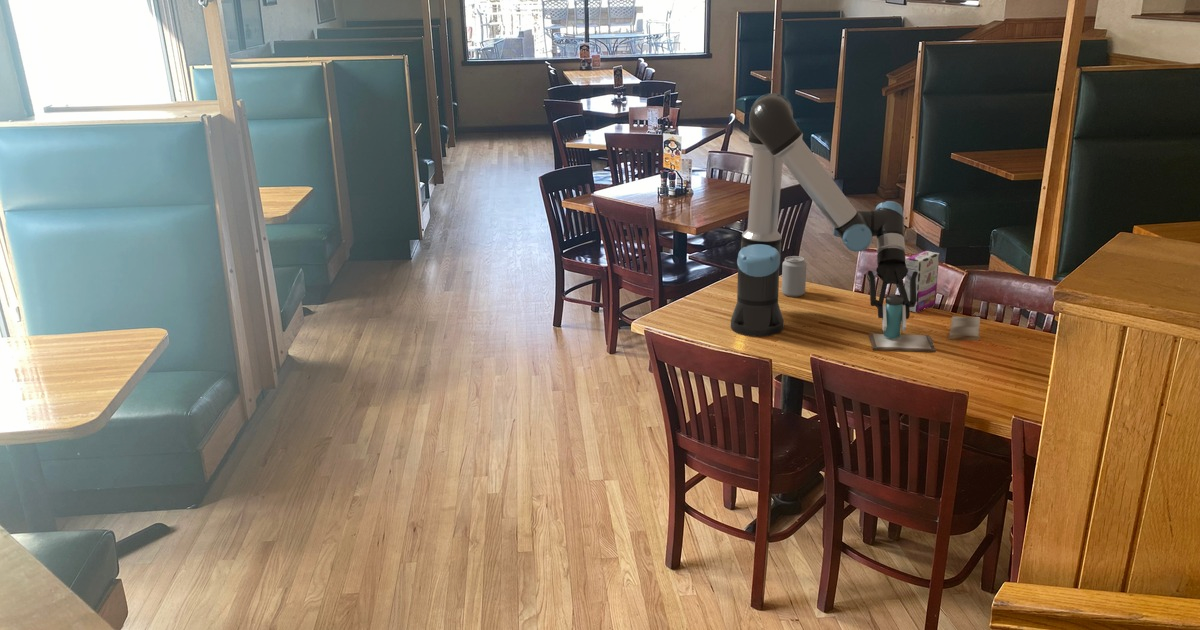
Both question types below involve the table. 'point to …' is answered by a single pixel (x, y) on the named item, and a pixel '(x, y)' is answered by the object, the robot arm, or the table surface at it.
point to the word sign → (965, 328)
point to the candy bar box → (923, 279)
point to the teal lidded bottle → (893, 315)
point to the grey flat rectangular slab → (902, 343)
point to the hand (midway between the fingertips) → (894, 328)
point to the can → (794, 276)
